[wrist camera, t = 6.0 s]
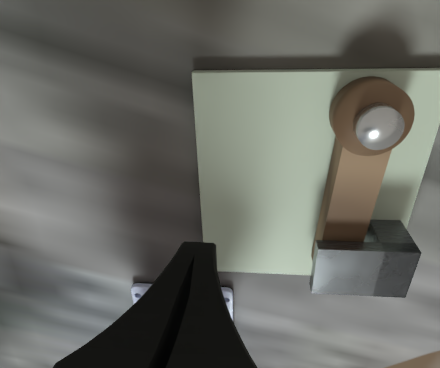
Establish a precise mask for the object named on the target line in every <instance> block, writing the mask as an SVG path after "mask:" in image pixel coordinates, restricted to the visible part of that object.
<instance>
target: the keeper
mask: <svg viewBox="0 0 440 368" xmlns="http://www.w3.org/2000/svg"><path fill="white" fill-rule="evenodd" d="M420 256H421V252H420V250H419V248H418V247H417V245H416V244H415V242H414V241H413V239H412V237H411V236H410V234H409V233H408V231H407V229H406V228H405V226H404V225H403V223H402V222H401V220H375V219H371V220H370V223H369V226H368V230H367V233H366V236H365V240H364V242H358V241H329V240H316V243H315V249H314V256H313V263H312V270H311V276H310V289H311V293H318V294H339V295H360V296H381V297H402V298H405V297H406V294H407V292H408V289H409V286H410V283H411V280H412V278H413V275H414V272H415V269H416V267H417V264H418V261H419V258H420Z"/></svg>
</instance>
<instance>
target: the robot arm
mask: <svg viewBox="0 0 440 368" xmlns="http://www.w3.org/2000/svg"><path fill="white" fill-rule="evenodd" d="M131 293H132V298H133V302H134V305H133V306H132V307H131V308H130V309H129V310H127V311H126V312H125V313H124V314H123V315H122V316H121V317H120V318H119V319H117V320H116V321H115V322H114V323H113V324H112V325H110V326H109V327H108V328H107V329H105V330H104V331H103V332H101V333H100V334H99V335H97V336H96V337H95V338H93V339H92V340H91V341H89V342H88V343H87V344H85V345H84V346H82V347H81V348H79V349H78V350H76V351H74V352H73V353H71V354H70V355H68V356H67V357H65V358H63V359H62V360H60V361H58V362H57V363H56V364H55V365H54V367H53V368H257V366H256V365H255V363H254V361H253V360H252V358H251V356H250V355H249V353H248V351H247V349H246V347H245V346H244V343H243V341H242V339H241V337H240V335H239V333H238V331H237V329H236V327H235V325H234V323H233V291H232V289H230V288H227V287H221V285H220V281H219V277H218V273H217V254H216V245H215V244H214V243H206V242H184V243H182V245H181V246H180V248H179V249H178V251H177V252H176V254H175V255H174V257H173V258H172V260H171V261H170V263H169V264H168V265H167V267H166V268H165V269H164V271H163V272H162V273H161V274H160V276H159V277H158V278H157V279H156V281H155V282H154V283H153V284H144V283H135V284H133V285H132V287H131Z"/></svg>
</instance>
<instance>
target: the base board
mask: <svg viewBox="0 0 440 368" xmlns="http://www.w3.org/2000/svg"><path fill="white" fill-rule="evenodd" d="M367 76H376V77H381V78H384V79H387V80H388V81H390V82H392V83H393V84H394V85H396V86H397V87H399V88H400V89H402V90H403V91H404V92H405V93H407V94H408V96H409V97H410V99H411V100H412V102H413V105H414V111H415V116H414V122H413V125H412V128H411V130H410V132H409V133H408V135H407V136H406V138H405V139H404V140H403V141H402V142H401V143H400V144H399V145H397V146H396V147H395V148H393V149H392V151H391V154H390V158H389V161H388V164H387V167H386V171H385V174H384V177H383V181H382V184H381V187H380V190H379V194H378V197H377V200H376V204H375V207H374V210H373V213H372V217H371V219H375V220H401V222H402V223H403V225H404V226H405V228H406V229H407V225H408V222H409V219H410V216H411V213H412V210H413V206H414V203H415V200H416V197H417V194H418V191H419V187H420V184H421V181H422V178H423V175H424V172H425V168H426V165H427V162H428V159H429V156H430V153H431V149H432V146H433V143H434V140H435V137H436V134H437V131H438V127H439V124H440V68H381V69H284V70H193V72H192V85H193V100H194V115H195V129H196V144H197V159H198V174H199V188H200V203H201V218H202V232H203V242H206V243H214V244H215V245H216V254H217V271H224V272H247V273H270V274H294V275H311V270H312V263H313V261H312V257H311V253H312V248H313V244H314V239H315V234H316V229H317V224H318V220H319V215H320V210H321V205H322V200H323V195H324V191H325V186H326V181H327V176H328V171H329V167H330V162H331V157H332V152H333V147H334V143H335V138H336V135H335V133H334V132H333V130H332V128H331V125H330V122H329V110H330V106H331V103H332V101H333V99H334V97H335V96H336V95H337V93H338V92H339V91H340V90H341V89H342V88H343V87H344V86H345V85H347V84H348V83H350V82H352V81H354V80H356V79H358V78H362V77H367Z"/></svg>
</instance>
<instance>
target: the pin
mask: <svg viewBox="0 0 440 368" xmlns="http://www.w3.org/2000/svg"><path fill="white" fill-rule="evenodd" d="M404 126H405V124H404V119H403V117H402V116H401V114H400V113H399V112H397V111H396V110H395V109H394V108H393V107H392V106H390V105H389V104H386V103H382V102H376V103H372V104H369V105H367V106H365V107H364V108H362V109H361V110H360V111H359V112H358V113H357V115H356V117H355V119H354V122H353V131H354V133H355V135H356V136H357V138H358V139H359V141H360V142H361V144H362V145H363V146H365V147H366V148H368V149H372V150H382V149H386V148H388V147H390V146H392V145H393V144H395V143H396V142H397V141H398V140H399V139H400V137H401V136H402V134H403V131H404Z"/></svg>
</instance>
